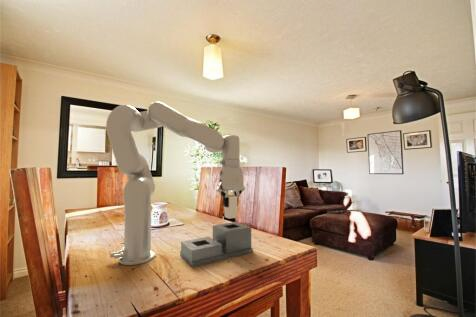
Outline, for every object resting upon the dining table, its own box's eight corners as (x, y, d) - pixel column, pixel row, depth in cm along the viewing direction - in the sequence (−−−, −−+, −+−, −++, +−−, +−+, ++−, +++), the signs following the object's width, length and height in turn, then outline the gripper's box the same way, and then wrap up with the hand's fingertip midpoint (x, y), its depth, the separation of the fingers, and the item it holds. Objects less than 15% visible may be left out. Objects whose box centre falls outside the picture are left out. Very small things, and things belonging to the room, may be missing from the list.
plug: (229, 218, 91) (229, 195, 92) (223, 216, 95) (223, 194, 96) (237, 217, 93) (237, 194, 94) (231, 215, 97) (231, 193, 98)
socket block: (192, 267, 76) (192, 238, 77) (180, 254, 88) (180, 229, 89) (252, 252, 90) (252, 227, 91) (235, 243, 102) (234, 221, 103)
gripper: (217, 163, 88) (217, 209, 87) (251, 163, 97) (251, 205, 95) (209, 163, 94) (209, 206, 93) (242, 164, 103) (242, 203, 102)
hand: (230, 205), depth 94 cm, fingers closed on plug, 4 cm apart
